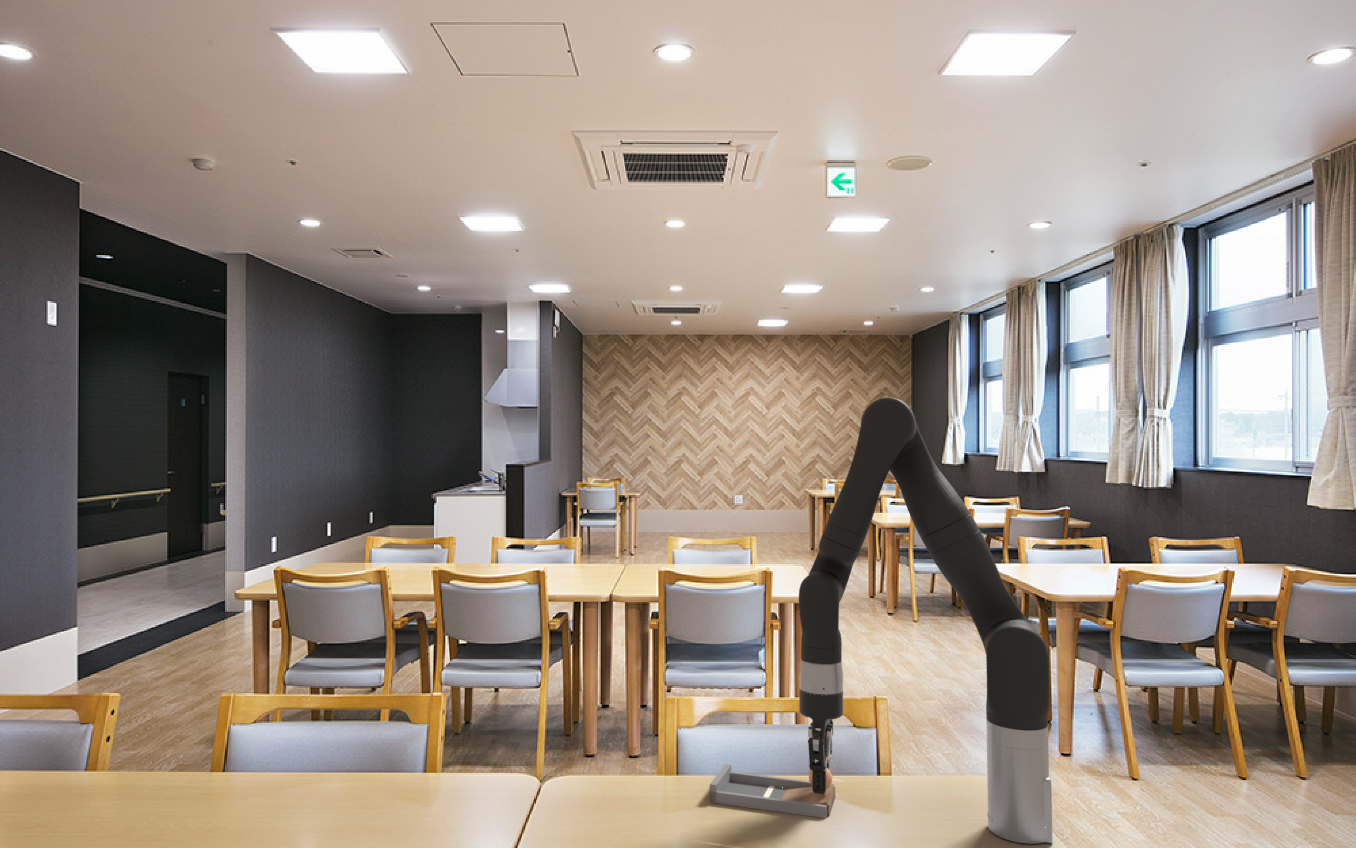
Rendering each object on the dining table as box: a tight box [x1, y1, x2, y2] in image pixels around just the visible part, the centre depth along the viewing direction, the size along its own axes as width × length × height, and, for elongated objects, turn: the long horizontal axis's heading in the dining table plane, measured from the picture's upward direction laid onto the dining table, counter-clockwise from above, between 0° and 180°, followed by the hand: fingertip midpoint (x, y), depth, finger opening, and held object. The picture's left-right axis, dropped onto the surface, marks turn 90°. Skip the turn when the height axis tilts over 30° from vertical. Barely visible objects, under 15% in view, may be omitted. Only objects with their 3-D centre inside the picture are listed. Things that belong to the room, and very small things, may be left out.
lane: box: [709, 763, 835, 819], centre depth 141 cm, size 20×11×3 cm, turn 72°
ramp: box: [782, 783, 836, 817], centre depth 139 cm, size 9×9×3 cm
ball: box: [808, 768, 833, 789], centre depth 139 cm, size 4×4×4 cm
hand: (820, 787), depth 139 cm, fingers closed on ball, 3 cm apart
